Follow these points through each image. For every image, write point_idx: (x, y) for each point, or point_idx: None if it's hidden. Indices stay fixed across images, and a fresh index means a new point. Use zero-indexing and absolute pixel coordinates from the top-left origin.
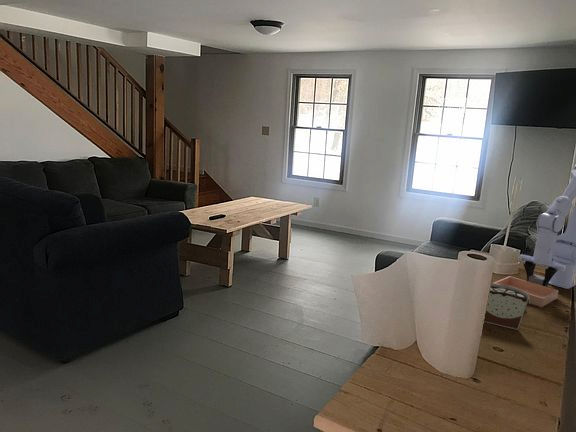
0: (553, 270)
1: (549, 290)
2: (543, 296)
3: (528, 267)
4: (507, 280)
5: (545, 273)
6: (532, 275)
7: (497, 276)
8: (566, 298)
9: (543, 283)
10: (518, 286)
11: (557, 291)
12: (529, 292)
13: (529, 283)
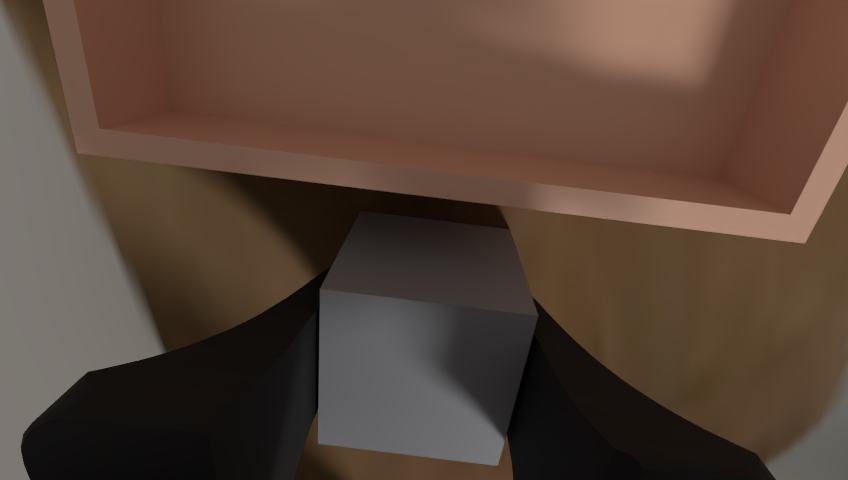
0: (44, 476)
1: (204, 131)
2: (268, 33)
3: (636, 431)
4: (812, 91)
5: (257, 373)
6: (503, 389)
7: (840, 372)
8: (125, 248)
9: None
10: (604, 165)
11: (73, 104)
12: (443, 33)
13: (489, 171)
